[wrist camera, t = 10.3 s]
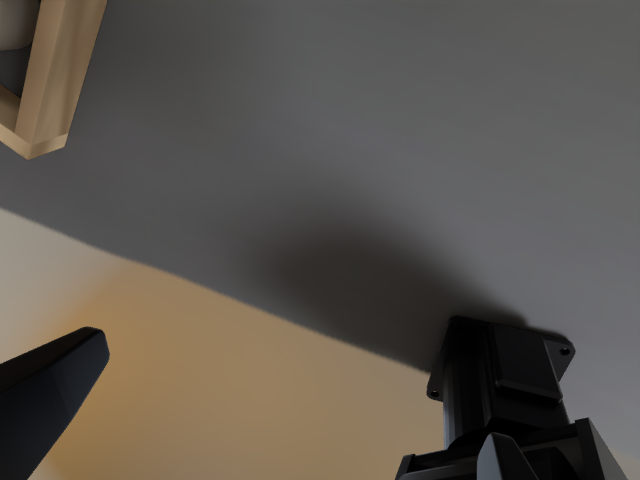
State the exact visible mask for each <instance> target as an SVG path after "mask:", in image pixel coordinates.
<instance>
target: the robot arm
mask: <svg viewBox="0 0 640 480" xmlns="http://www.w3.org/2000/svg"><path fill="white" fill-rule="evenodd" d="M456 324H459V325H461V326H459V327H456V326H454V325H456ZM563 348H567V349H566V350H561V349H563ZM575 352H576V351H575V348H574V346H573V344H572V342H570V341H568V340H565V339H561V338H556V337H552V336H547V335H543V334H539V333H534V332H530V331H525V330H521V329H516V328H512V327H507V326H502V325H498V324H493V323H488V322H483V321H479V320H474V319H470V318H465V317H461V316H454V317H452V318H450V319H449V321H448V323H447V326H446V329H445V333H444V336H443V339H442V342H441V345H440V348H439V351H438V354H437V357H436V360H435V363H434V366H433V369H432V373H431V376H430V379H429V382H428V385H427V396H428V397H429V398H431V399H433V400H437V401H441V402H443V411H444V412H443V416H444V450H441V451H435V452H431V453H426V454H421V455H415V454H411V455H406V456H404V457H403V459H402V462H401V464H400V467H399V470H398V472H397V475H396V478H395V480H628V479H627V478H626V476H625V474H624V473H623V471H622V470H621V468H620V466H619V465H618V463H617V462H616V460H615V459H614V457H613V455H612V454H611V452H610V450H609V449H608V447H607V446H606V444H605V443H604V441H603V439H602V438H601V436H600V435H599V433H598V431H597V430H596V428H595V427H594V425H593V423H592V422H591V420H590V419H589V418H583V419H578V420H575V423H572V424H570V421H569V418H568V415H567V412H566V409H565V406H564V403H563V400H562V398H563V395H562V392H561V389H560V386H559V381H560V379H561V378H562V376H563V374H564V372H565V371H566V369H567V367H568V365H569V364H570V362H571V360H572V358H573V357H574V355H575ZM109 356H110V353H109V349H108V345H107V341H106V337H105V334H104V332H103V331H102V330H100V329H97V328H93V327H83V328H80V329H78V330H76V331H74V332H71V333H69V334H67V335H65V336H62V337H60V338H58V339H56V340H54V341H51V342H49V343H47V344H44V345H42V346H40V347H37V348H35V349H33V350H31V351H28V352H27V353H24V354H22V355H19V356H17V357H15V358H13V359H10V360H8V361H6V362H4V363H1V364H0V480H27V479H28V478H29V477H30V475H31V474H32V473H33V471H34V470H35V469H36V468H37V466H38V465H39V464H40V462H41V460H43V458H44V457H45V456H46V454H47V453H48V452H49V450H50V449H51V448H52V446H53V445H54V444H55V442H56V441H57V440H58V438H59V437H60V436H61V434H62V433H63V432H64V430H65V429H66V428H67V426H68V425H69V423H70V422H71V421H72V419H73V418H74V416H75V415H76V413H77V412H78V410H79V408H80V407H81V405H82V403H83V402H84V400H85V399H86V397H87V395H88V394H89V392H90V391H91V389H92V387H93V386H94V384H95V383H96V381H97V379H98V378H99V376H100V374H101V373H102V371H103V370H104V368H105V366H106V365H107V363H108V360H109ZM433 391H436V392H433Z"/></svg>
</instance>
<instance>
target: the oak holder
mask: <svg viewBox="0 0 640 480" xmlns="http://www.w3.org/2000/svg"><path fill="white" fill-rule="evenodd" d="M106 4H107V0H41V5H40V10H39V15H38V20H37V25H36V30H35V35H34V39H33V44H32V49H31V54H30V59H29V64H28V69H27V74H26V79H25V83H24V88H23V93H22V98H19V97H18V96H16V95H15V94H14V93H12V92H11V91H9V90H8V89H7V88H5V87H4V86H3V85H1V84H0V141H1V142H3V143H4V144H6V145H7V146H9V147H10V148H11V149H13V150H14V151H16V152H17V153H18V154H20V155H21V156H23V157H24V158H26V159H27V160H30V159H32V158H35V157H38V156H40V155H43V154H46V153H49V152H51V151H54V150H57V149H59V148H62V147H65V143H66V140H67V136H68V133H69V130H70V126H71V123H72V119H73V116H74V113H75V109H76V106H77V102H78V99H79V96H80V92H81V89H82V85H83V82H84V79H85V75H86V72H87V68H88V65H89V62H90V58H91V55H92V51H93V48H94V45H95V41H96V38H97V34H98V31H99V28H100V24H101V21H102V17H103V14H104V11H105V7H106Z"/></svg>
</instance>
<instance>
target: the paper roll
mask: <svg viewBox="0 0 640 480" xmlns="http://www.w3.org/2000/svg"><path fill="white" fill-rule="evenodd" d="M39 10H40V8H39V2H38V0H0V51H4V50H14V49H21V48H24V47H26V46H27V45H29V44H30V43H31V42H32V41H33V39H34V35H35V30H36V25H37V20H38V15H39Z"/></svg>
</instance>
